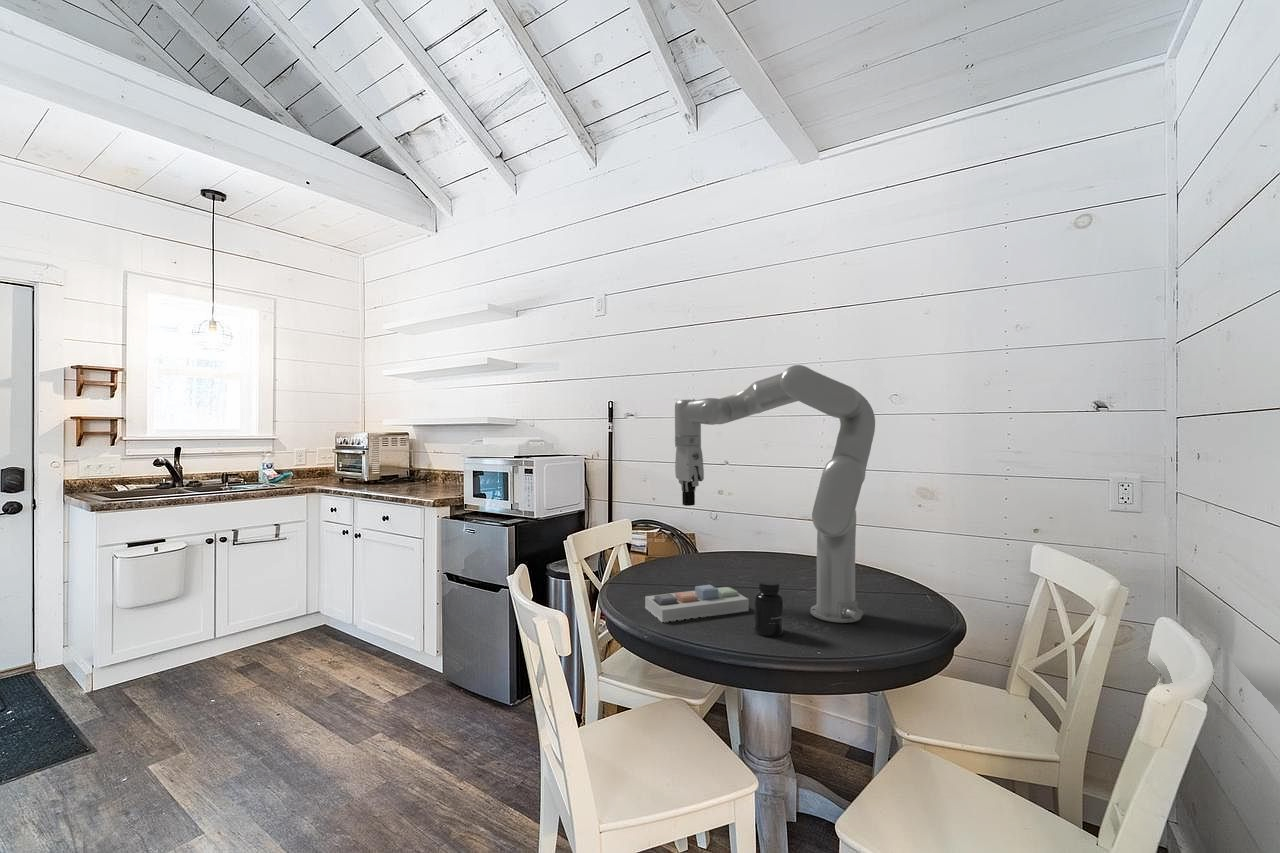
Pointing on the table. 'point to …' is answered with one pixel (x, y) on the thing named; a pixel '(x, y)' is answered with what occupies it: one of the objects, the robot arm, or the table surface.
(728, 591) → the key sage
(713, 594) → the key slate
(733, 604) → the keypad
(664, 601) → the key charcoal
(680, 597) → the key terracotta
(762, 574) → the table surface
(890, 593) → the table surface
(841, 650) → the table surface
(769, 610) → the supplement bottle
